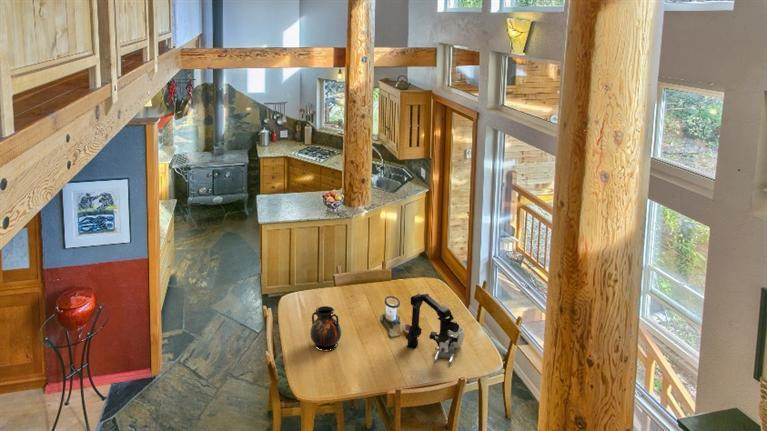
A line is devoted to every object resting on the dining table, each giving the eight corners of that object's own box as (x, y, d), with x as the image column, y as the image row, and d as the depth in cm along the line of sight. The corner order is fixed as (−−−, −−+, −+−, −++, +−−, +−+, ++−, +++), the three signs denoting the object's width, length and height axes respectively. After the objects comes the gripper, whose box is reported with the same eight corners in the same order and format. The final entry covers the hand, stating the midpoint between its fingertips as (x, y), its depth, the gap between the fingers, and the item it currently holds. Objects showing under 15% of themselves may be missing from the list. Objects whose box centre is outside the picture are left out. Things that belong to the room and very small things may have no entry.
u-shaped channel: (430, 362, 431) (430, 351, 428) (435, 350, 446) (436, 339, 444) (450, 365, 427) (451, 354, 425) (455, 352, 443) (455, 342, 440)
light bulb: (437, 353, 426) (438, 344, 423) (440, 347, 433) (440, 338, 431) (446, 354, 424) (447, 345, 422) (449, 348, 432) (449, 339, 429)
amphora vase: (306, 352, 445) (304, 315, 437) (316, 337, 465) (315, 301, 457) (336, 355, 441) (334, 318, 432) (345, 340, 460) (344, 304, 452)
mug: (441, 349, 447) (441, 332, 443) (442, 341, 458) (442, 324, 454) (463, 350, 445) (463, 333, 441) (463, 342, 456) (464, 325, 452)
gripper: (427, 330, 419) (427, 352, 424) (456, 334, 415) (455, 356, 419) (431, 323, 430) (431, 344, 434) (459, 326, 425) (458, 347, 430)
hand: (443, 348), depth 429 cm, fingers closed on light bulb, 6 cm apart
